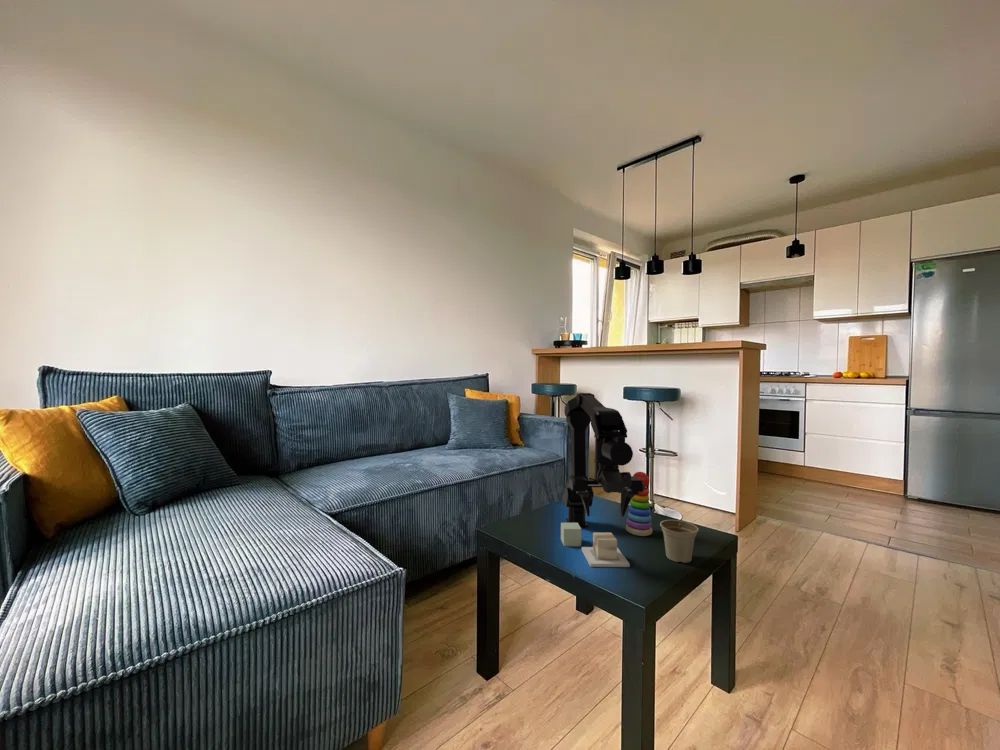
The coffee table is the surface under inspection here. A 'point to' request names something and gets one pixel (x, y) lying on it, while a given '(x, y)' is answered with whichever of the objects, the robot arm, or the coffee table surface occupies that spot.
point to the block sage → (571, 534)
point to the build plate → (596, 562)
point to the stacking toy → (640, 510)
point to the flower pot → (679, 539)
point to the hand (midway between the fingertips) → (605, 516)
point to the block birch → (605, 546)
